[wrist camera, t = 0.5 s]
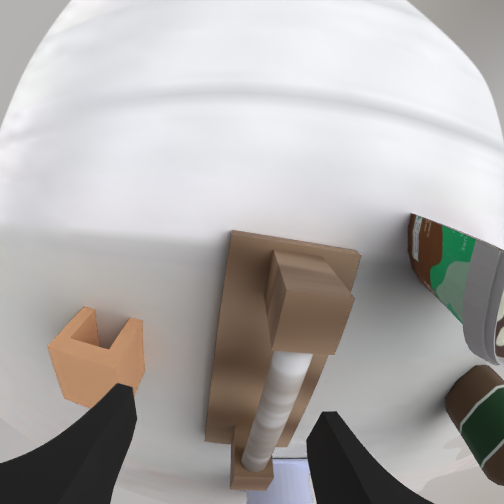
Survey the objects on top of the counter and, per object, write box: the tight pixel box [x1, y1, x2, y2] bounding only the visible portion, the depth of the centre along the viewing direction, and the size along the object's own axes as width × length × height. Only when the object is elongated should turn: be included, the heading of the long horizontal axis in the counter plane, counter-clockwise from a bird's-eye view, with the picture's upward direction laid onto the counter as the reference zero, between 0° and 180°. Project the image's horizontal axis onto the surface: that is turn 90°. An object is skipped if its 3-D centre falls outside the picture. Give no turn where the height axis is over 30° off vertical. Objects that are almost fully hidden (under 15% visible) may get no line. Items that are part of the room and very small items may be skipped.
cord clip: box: [48, 307, 145, 408], centre depth 17 cm, size 5×5×6 cm
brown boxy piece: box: [205, 230, 361, 491], centre depth 17 cm, size 20×8×6 cm, turn 170°
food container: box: [408, 213, 504, 367], centre depth 13 cm, size 12×6×10 cm, turn 78°
